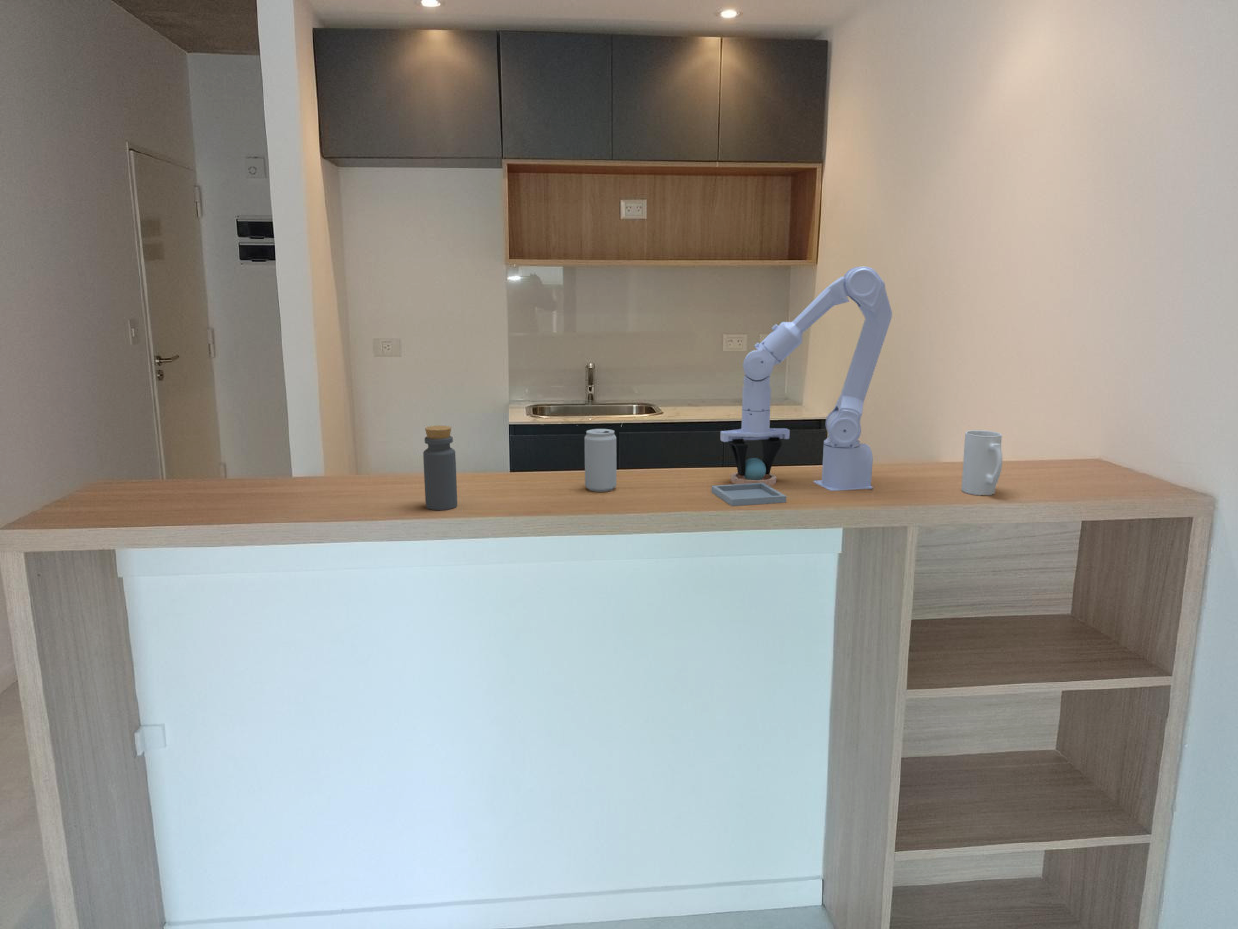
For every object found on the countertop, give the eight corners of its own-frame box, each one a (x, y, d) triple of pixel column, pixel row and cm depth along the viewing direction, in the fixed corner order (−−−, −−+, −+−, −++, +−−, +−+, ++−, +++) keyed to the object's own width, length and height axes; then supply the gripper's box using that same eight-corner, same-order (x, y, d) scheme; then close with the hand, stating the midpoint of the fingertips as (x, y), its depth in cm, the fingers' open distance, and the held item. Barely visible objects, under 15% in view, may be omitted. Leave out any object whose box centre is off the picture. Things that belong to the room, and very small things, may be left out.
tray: (762, 490, 175) (763, 482, 174) (786, 504, 164) (786, 496, 164) (711, 493, 172) (711, 485, 172) (731, 507, 162) (731, 499, 161)
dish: (764, 477, 186) (765, 469, 186) (783, 487, 177) (783, 479, 177) (724, 479, 184) (724, 472, 183) (741, 489, 175) (741, 482, 175)
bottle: (419, 506, 162) (415, 427, 159) (446, 500, 166) (442, 423, 163) (436, 512, 158) (433, 431, 155) (463, 506, 162) (460, 427, 159)
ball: (759, 478, 183) (760, 455, 182) (769, 483, 179) (770, 459, 178) (737, 479, 182) (738, 456, 181) (746, 485, 177) (747, 461, 176)
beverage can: (612, 493, 172) (612, 434, 169) (581, 491, 173) (581, 432, 171) (619, 486, 178) (619, 428, 176) (588, 484, 179) (588, 427, 177)
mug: (953, 488, 177) (958, 430, 174) (983, 487, 178) (989, 429, 175) (981, 501, 167) (987, 440, 164) (1013, 499, 168) (1019, 439, 165)
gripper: (780, 405, 183) (777, 468, 186) (715, 407, 179) (714, 471, 182) (795, 410, 176) (792, 475, 179) (728, 412, 172) (726, 479, 175)
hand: (753, 474), depth 180 cm, fingers closed on ball, 5 cm apart
